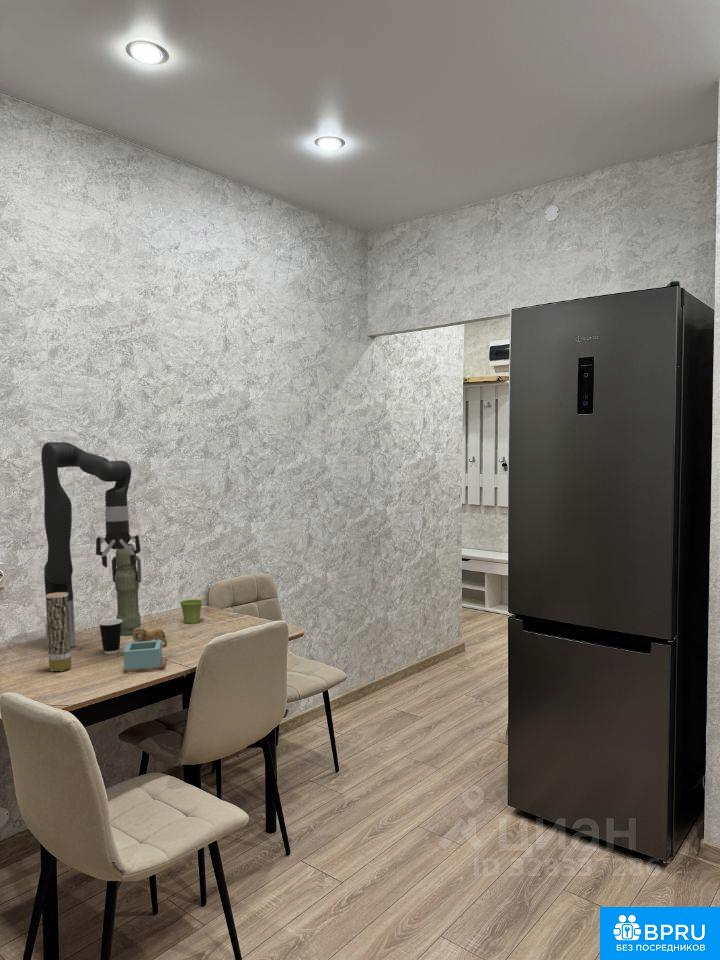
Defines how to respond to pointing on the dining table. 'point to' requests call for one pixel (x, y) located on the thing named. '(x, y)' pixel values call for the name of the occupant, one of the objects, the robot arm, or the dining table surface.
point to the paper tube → (58, 631)
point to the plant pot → (191, 610)
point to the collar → (143, 655)
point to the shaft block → (162, 666)
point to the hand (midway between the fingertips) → (119, 566)
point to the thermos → (127, 590)
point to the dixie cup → (110, 635)
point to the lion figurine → (148, 635)
